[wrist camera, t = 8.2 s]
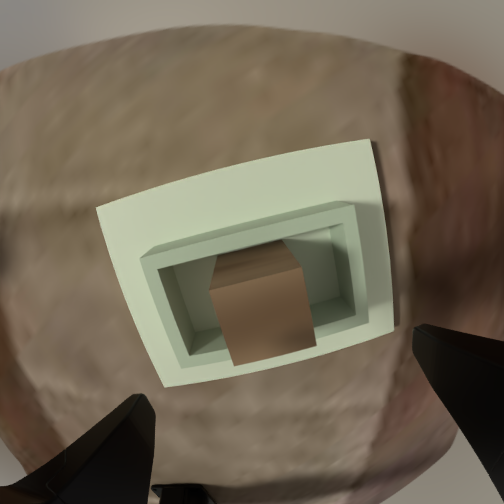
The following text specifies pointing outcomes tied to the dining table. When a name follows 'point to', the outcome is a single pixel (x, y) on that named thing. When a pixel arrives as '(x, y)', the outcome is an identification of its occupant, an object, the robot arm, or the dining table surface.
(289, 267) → the brown wooden block
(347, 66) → the dining table surface
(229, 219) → the well
